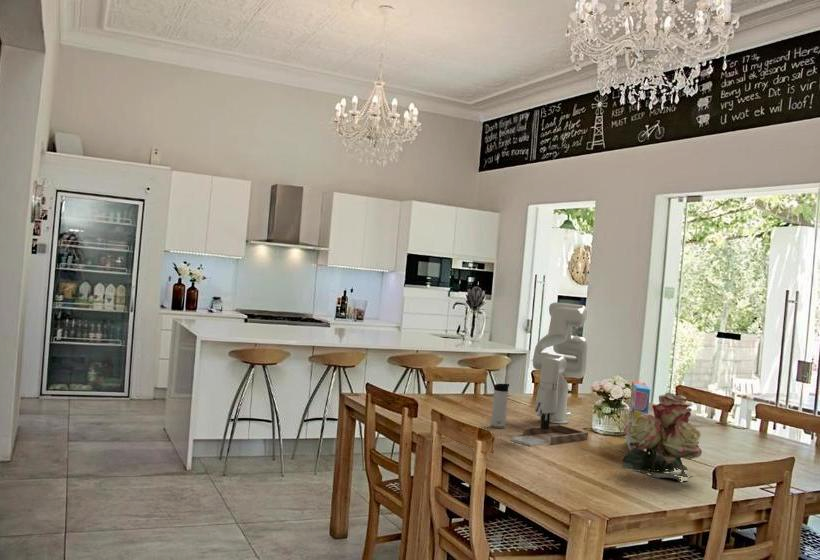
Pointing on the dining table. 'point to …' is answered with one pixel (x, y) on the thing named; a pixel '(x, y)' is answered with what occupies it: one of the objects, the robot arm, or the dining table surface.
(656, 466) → the rose bouquet
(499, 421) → the travel mug
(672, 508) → the dining table surface
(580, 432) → the tray
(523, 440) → the cover plate
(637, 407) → the game box
